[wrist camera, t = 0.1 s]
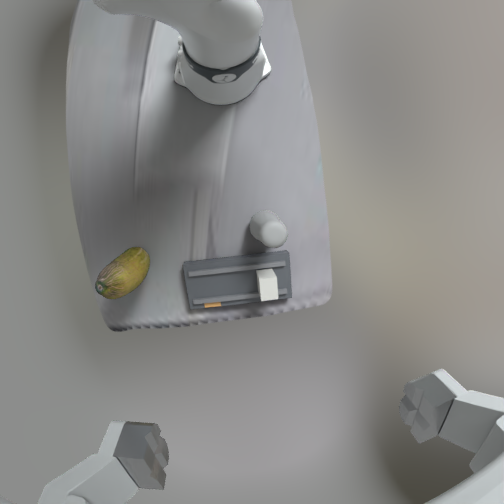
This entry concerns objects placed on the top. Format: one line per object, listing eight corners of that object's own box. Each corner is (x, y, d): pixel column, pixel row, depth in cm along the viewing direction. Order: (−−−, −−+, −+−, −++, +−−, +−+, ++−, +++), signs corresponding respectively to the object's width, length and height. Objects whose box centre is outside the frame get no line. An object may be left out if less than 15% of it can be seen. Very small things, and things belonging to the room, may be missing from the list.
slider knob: (256, 270, 53) (259, 279, 48) (272, 268, 54) (276, 277, 48) (258, 290, 54) (261, 301, 49) (273, 288, 55) (278, 298, 49)
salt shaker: (264, 245, 55) (275, 262, 43) (242, 226, 54) (246, 237, 42) (285, 223, 55) (301, 233, 42) (263, 203, 54) (273, 207, 41)
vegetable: (160, 250, 54) (127, 283, 34) (151, 279, 55) (117, 322, 36) (133, 239, 53) (89, 265, 34) (125, 267, 54) (81, 304, 35)
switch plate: (184, 261, 55) (182, 266, 52) (286, 250, 56) (290, 254, 53) (191, 304, 57) (189, 310, 54) (289, 293, 58) (292, 299, 55)
